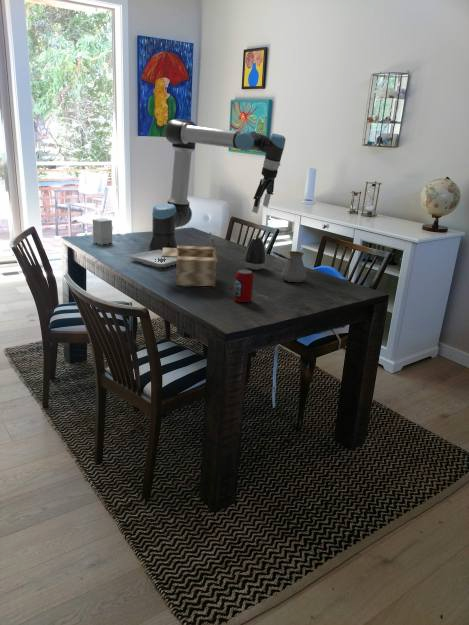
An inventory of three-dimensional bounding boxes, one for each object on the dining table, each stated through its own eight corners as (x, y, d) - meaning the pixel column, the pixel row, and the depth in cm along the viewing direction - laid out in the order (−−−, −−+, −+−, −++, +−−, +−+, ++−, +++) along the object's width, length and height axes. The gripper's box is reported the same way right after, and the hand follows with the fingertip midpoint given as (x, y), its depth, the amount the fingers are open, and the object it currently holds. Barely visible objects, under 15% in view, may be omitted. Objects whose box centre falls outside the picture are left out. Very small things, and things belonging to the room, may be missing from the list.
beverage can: (233, 297, 197) (235, 268, 193) (250, 298, 198) (252, 269, 194) (234, 303, 191) (236, 273, 187) (252, 304, 191) (254, 274, 187)
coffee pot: (292, 275, 233) (295, 244, 228) (311, 282, 225) (315, 249, 220) (259, 282, 219) (262, 249, 214) (278, 289, 211) (282, 254, 206)
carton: (161, 289, 201) (161, 258, 196) (162, 272, 223) (163, 244, 219) (215, 291, 204) (217, 260, 199) (211, 274, 226) (213, 247, 222)
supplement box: (112, 243, 268) (112, 220, 264) (101, 245, 263) (100, 221, 258) (104, 241, 273) (104, 217, 268) (92, 242, 267) (92, 219, 263)
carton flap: (211, 239, 201) (212, 238, 201) (209, 232, 214) (210, 232, 214) (216, 258, 204) (218, 257, 204) (214, 250, 217) (215, 250, 217)
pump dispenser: (268, 267, 243) (271, 237, 238) (260, 272, 234) (263, 240, 229) (249, 264, 247) (251, 233, 242) (240, 268, 238) (243, 237, 233)
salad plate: (159, 255, 254) (159, 248, 252) (191, 263, 243) (191, 256, 241) (127, 262, 237) (127, 255, 236) (160, 271, 226) (161, 264, 225)
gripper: (267, 174, 230) (257, 217, 241) (286, 166, 250) (275, 206, 261) (253, 169, 232) (243, 212, 243) (272, 161, 252) (262, 201, 263)
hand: (260, 209), depth 252 cm, fingers open, 13 cm apart
